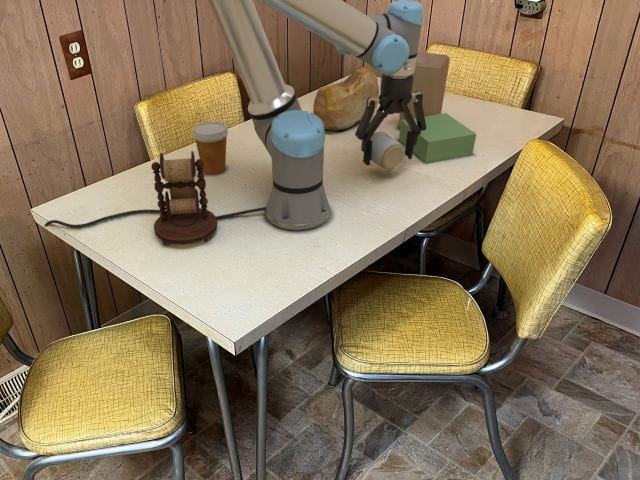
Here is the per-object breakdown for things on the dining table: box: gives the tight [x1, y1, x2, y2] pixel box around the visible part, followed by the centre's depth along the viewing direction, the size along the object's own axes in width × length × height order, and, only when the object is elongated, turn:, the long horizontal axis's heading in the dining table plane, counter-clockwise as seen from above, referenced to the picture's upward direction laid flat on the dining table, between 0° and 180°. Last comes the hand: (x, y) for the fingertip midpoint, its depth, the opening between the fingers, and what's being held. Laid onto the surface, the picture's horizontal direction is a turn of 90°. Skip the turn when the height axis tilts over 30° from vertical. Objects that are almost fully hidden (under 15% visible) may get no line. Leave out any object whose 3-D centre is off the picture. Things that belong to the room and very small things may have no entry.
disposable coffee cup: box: [192, 121, 229, 175], centre depth 159 cm, size 10×10×12 cm
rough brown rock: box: [312, 65, 380, 132], centre depth 181 cm, size 23×17×15 cm
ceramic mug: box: [370, 131, 409, 171], centre depth 151 cm, size 11×8×8 cm
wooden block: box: [398, 51, 451, 129], centre depth 171 cm, size 10×10×20 cm
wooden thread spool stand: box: [150, 150, 218, 246], centre depth 132 cm, size 15×15×20 cm
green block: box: [398, 112, 477, 164], centre depth 164 cm, size 14×16×6 cm
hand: (387, 160), depth 153 cm, fingers closed on ceramic mug, 11 cm apart
